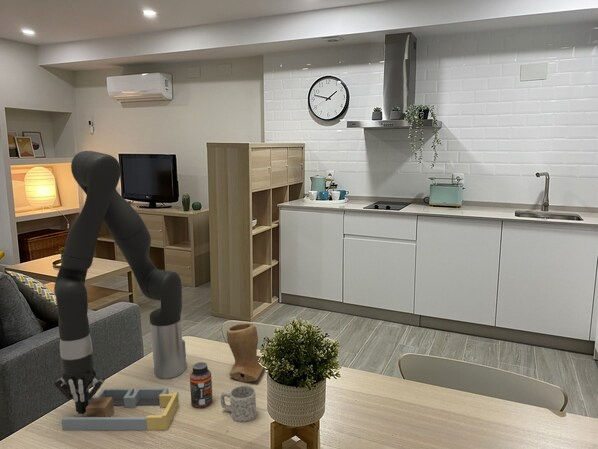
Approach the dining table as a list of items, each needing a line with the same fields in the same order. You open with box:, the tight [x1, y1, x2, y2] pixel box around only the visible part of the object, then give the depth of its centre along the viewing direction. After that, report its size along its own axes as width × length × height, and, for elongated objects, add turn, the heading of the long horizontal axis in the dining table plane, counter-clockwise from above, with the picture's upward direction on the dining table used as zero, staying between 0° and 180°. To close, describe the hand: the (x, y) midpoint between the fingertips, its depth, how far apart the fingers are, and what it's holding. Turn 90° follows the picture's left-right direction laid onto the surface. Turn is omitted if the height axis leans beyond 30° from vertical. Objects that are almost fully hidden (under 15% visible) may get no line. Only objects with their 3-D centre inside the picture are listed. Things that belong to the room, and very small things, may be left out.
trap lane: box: [61, 387, 170, 431], centre depth 126 cm, size 23×15×3 cm, turn 88°
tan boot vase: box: [226, 322, 265, 383], centre depth 146 cm, size 15×12×15 cm
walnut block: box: [85, 397, 115, 417], centre depth 124 cm, size 5×5×4 cm
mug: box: [220, 385, 257, 423], centre depth 124 cm, size 10×7×7 cm
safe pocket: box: [145, 391, 180, 431], centre depth 123 cm, size 5×11×4 cm, turn 178°
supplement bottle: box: [189, 361, 214, 409], centre depth 129 cm, size 6×6×11 cm
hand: (82, 412), depth 124 cm, fingers closed
